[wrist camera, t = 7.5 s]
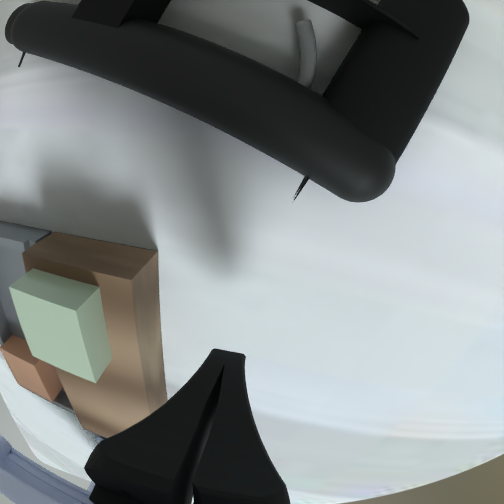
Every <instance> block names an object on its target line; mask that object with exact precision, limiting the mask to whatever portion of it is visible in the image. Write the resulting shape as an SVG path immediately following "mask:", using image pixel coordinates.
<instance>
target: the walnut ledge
mask: <svg viewBox="0 0 504 504" xmlns="http://www.w3.org/2000/svg"><path fill="white" fill-rule="evenodd" d="M22 257H23V262H24V267H25V271H26V273H27V272H29V271H30V270H31V269H33V268H34V269H37V270H41V271H44V272H47V273H51V274H54V275H58V276H61V277H65V278H68V279H72V280H76V281H79V282H83V283H87V284H90V285H94V286H98V287H100V294H101V300H102V307H103V312H104V318H105V324H106V329H107V334H108V339H109V344H110V349H111V353H112V359H111V361H110V362H109V364H108V366H107V367H106V369H105V370H104V372H103V373H102V375H101V376H100V378H99V379H98V381H97V382H96V383H94V382H92V381H89V380H86V379H84V378H81V377H79V376H76V375H74V374H72V373H69V372H67V371H65V370H62V369H60V368H58V367H56V366H55V368H56V371H57V373H58V376H59V378H60V381H61V383H62V385H63V388H64V390H65V392H66V394H67V396H68V399H69V401H70V403H71V405H72V407H73V409H74V411H75V413H76V415H77V417H78V419H79V421H80V423H81V425H82V427H83V428H84V429H86V430H89V431H91V432H93V433H96V434H98V435H101V436H103V437H106V438H108V437H111V436H113V435H115V434H117V433H120V432H122V431H124V430H125V429H127V428H129V427H131V426H132V425H134V424H136V423H138V422H139V421H141V420H143V419H144V418H146V417H147V416H149V415H150V414H151V413H153V412H154V411H156V410H157V409H158V408H160V407H161V406H162V405H163V404H165V403H166V402H167V393H166V384H165V374H164V363H163V352H162V339H161V323H160V305H159V277H158V251H154V250H149V249H143V248H138V247H132V246H127V245H121V244H116V243H110V242H105V241H100V240H94V239H89V238H84V237H79V236H73V235H68V234H63V233H58V232H54V233H52V234H50V235H49V236H47V237H45V238H44V239H42V240H41V241H39V242H37V243H36V244H34V245H33V246H31V247H30V248H28V249H27V250H25V251H24V252H22Z"/></svg>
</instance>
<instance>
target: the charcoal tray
mask: <svg viewBox="0 0 504 504" xmlns="http://www.w3.org/2000/svg"><path fill="white" fill-rule="evenodd" d="M50 234H51V231H47V230H42V229H37V228H32V227H27V226H22V225H17V224H12V223H7V222H2V221H0V344H1V346H2V345H3V344H4V343H5V342H6V341H7V340H8V339H9V338H10V337H11V336H12V335H15V336H17V337H20V338H22V339H24V340H26V338H25V335H24V333H23V330H22V327H21V324H20V321H19V318H18V315H17V312H16V309H15V306H14V303H13V299H12V296H11V292H10V289H9V286H10V285H12V284H13V283H14V282H16V281H17V280H18V279H19V278H21V277H22V276H23V275H25V274H26V271H25V267H24V262H23V257H22V252H24V251H25V250H27V249H28V248H30V247H31V246H33V245H34V244H36V243H37V242H39V241H41V240H42V239H44V238H45V237H47V236H49V235H50ZM54 367H55V366H54ZM55 370H56V368H55ZM56 372H57V371H56ZM57 374H58V373H57ZM58 377H59V376H58ZM59 379H60V378H59ZM20 386H21V385H20ZM23 388H24V387H23ZM25 389H26V388H25ZM27 390H28V389H27ZM29 391H30V390H29ZM32 393H33V392H32ZM34 394H35V393H34ZM36 395H37V394H36ZM38 396H39V395H38ZM40 397H41V396H40ZM42 398H43V397H42ZM43 399H45V398H43ZM45 400H47V399H45ZM47 401H49V400H47ZM49 402H51V401H49ZM51 403H53V404H55V405H57V406H59V407H61V408H63V409H65V410H68V411H70V412H72V413H74V414H76V413H75V411H74V409H73V407H72V405H71V403H70V401H69V399H68V396H67V394H66V392H65V390H64V388H62V389H61V391H60V392H59V394H58V395H57V396H56V398H55V399H54V401H53V402H51Z"/></svg>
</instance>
